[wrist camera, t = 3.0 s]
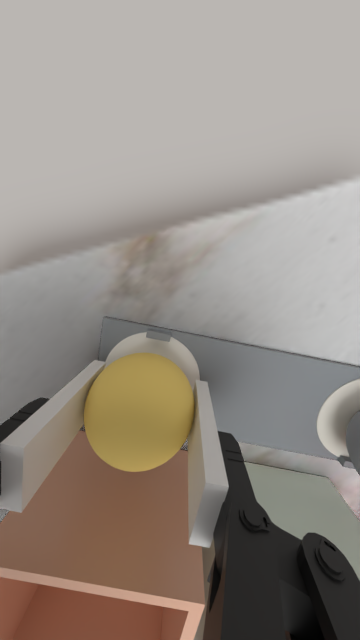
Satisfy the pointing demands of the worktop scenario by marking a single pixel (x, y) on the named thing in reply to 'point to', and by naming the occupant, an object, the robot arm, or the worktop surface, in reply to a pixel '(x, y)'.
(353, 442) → the ball grey
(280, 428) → the slate card
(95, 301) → the worktop surface
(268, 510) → the sage open box
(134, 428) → the ball mustard
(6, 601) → the salmon open box
